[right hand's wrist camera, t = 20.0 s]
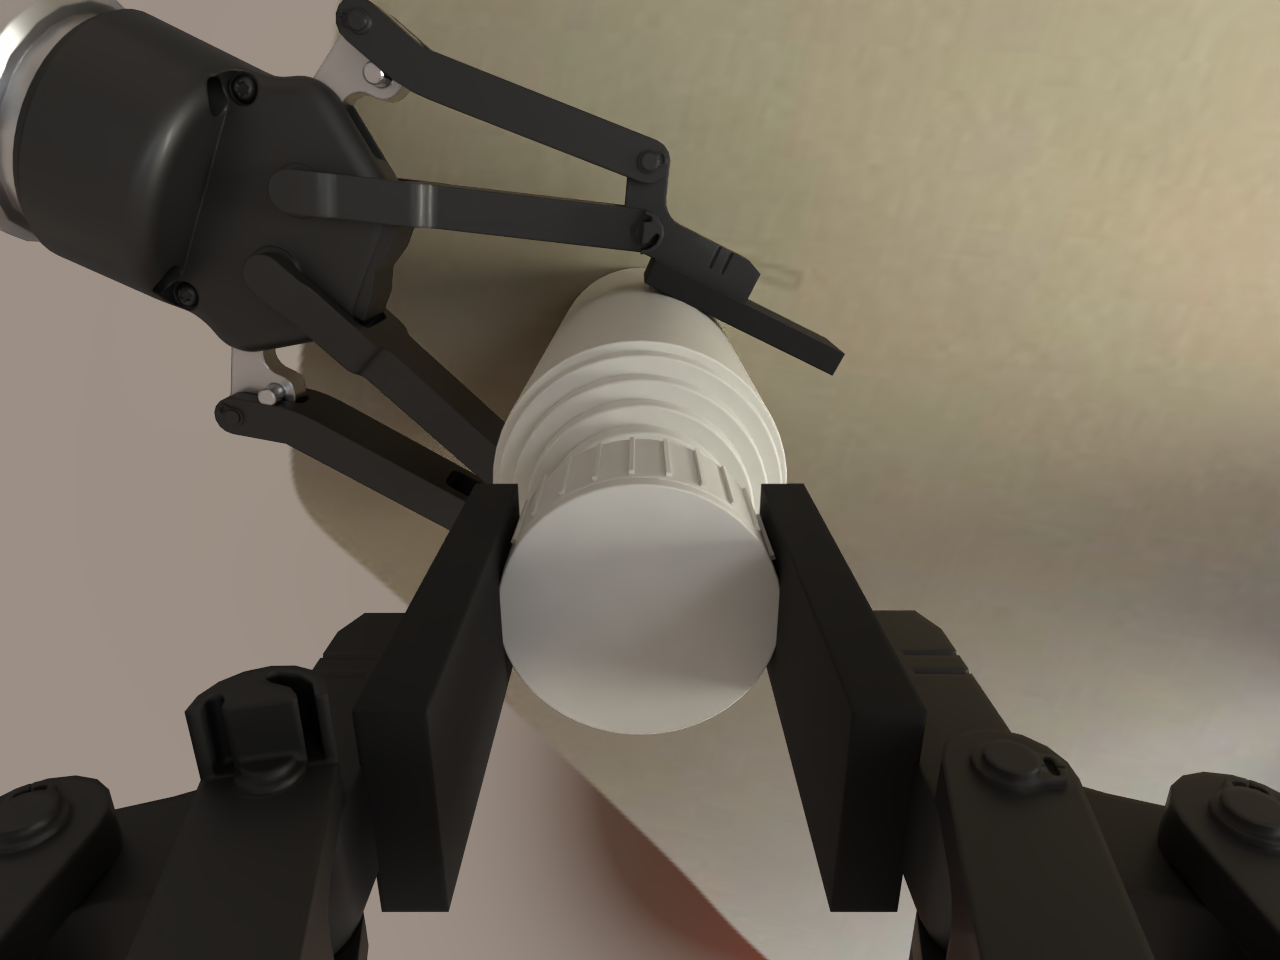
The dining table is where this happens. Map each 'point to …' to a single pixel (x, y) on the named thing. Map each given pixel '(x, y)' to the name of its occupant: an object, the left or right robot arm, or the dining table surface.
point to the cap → (639, 589)
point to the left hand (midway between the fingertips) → (773, 451)
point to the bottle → (638, 390)
